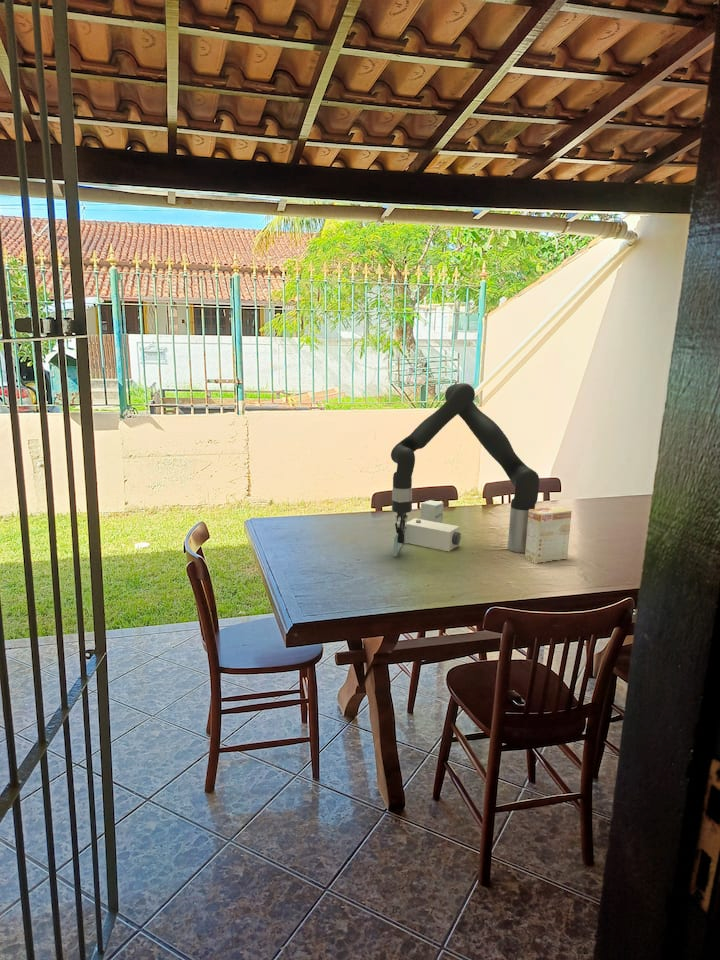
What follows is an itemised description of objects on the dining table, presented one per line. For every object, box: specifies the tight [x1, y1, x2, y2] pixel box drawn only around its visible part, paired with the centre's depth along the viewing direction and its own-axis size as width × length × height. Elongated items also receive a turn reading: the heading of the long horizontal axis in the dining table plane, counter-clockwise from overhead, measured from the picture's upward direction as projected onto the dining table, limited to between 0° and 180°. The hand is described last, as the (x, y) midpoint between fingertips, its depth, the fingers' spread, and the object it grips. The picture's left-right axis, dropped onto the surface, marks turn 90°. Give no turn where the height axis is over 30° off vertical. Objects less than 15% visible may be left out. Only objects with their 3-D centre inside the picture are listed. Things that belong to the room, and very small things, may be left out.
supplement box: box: [419, 499, 444, 523], centre depth 270 cm, size 7×7×13 cm
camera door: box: [393, 532, 403, 557], centre depth 244 cm, size 19×1×7 cm, turn 168°
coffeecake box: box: [524, 505, 573, 564], centre depth 236 cm, size 15×7×20 cm, turn 111°
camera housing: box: [404, 517, 462, 553], centre depth 252 cm, size 22×9×9 cm, turn 58°
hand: (401, 542), depth 238 cm, fingers closed
